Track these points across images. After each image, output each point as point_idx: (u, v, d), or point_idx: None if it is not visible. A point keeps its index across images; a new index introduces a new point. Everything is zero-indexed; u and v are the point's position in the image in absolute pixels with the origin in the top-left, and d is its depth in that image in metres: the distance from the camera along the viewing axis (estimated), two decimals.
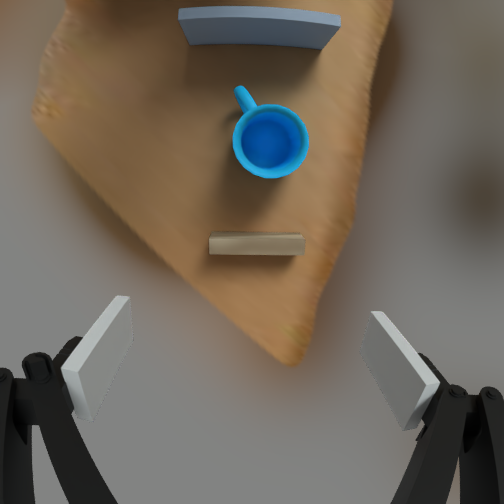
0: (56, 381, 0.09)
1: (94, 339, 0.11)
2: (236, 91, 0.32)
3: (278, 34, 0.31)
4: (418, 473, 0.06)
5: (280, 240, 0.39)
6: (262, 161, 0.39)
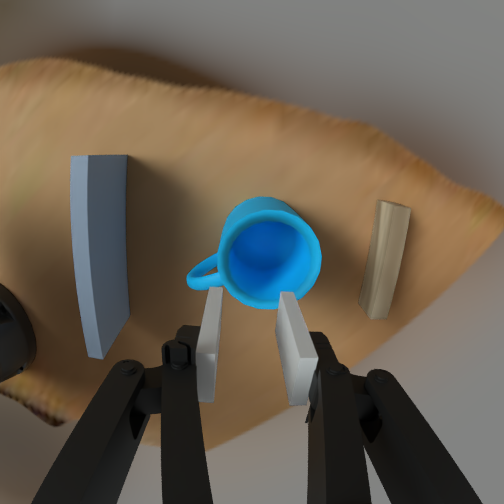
0: (193, 370, 0.11)
1: (213, 325, 0.14)
2: (195, 289, 0.27)
3: (110, 226, 0.27)
4: (325, 465, 0.07)
5: (389, 237, 0.28)
6: (286, 245, 0.31)
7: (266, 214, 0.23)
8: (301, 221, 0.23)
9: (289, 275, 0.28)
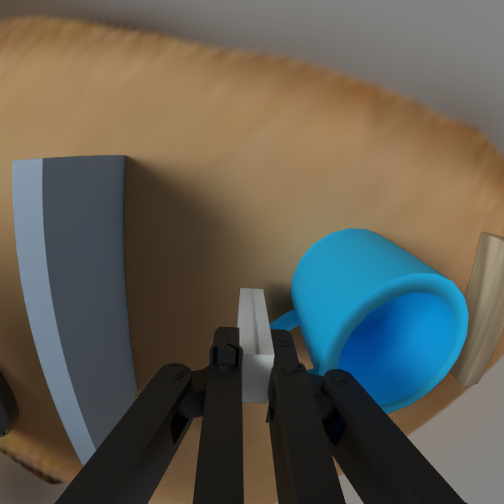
0: (239, 373, 0.11)
1: (252, 326, 0.14)
2: None
3: (98, 281, 0.15)
4: (292, 468, 0.07)
5: (503, 287, 0.17)
6: None
7: (412, 281, 0.12)
8: (455, 289, 0.12)
9: (400, 353, 0.17)
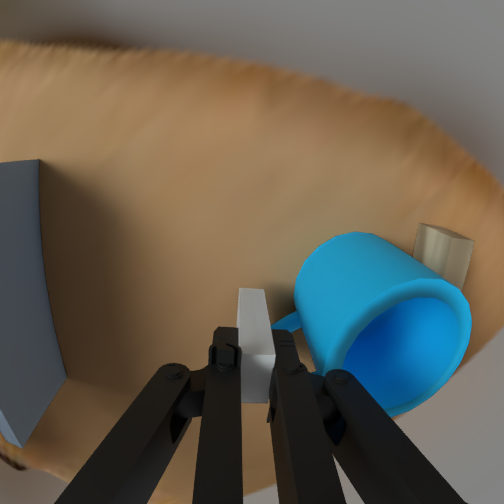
0: (238, 372, 0.11)
1: (251, 326, 0.14)
2: None
3: (7, 270, 0.15)
4: (293, 468, 0.07)
5: None
6: None
7: (419, 286, 0.12)
8: (460, 295, 0.12)
9: (401, 358, 0.16)
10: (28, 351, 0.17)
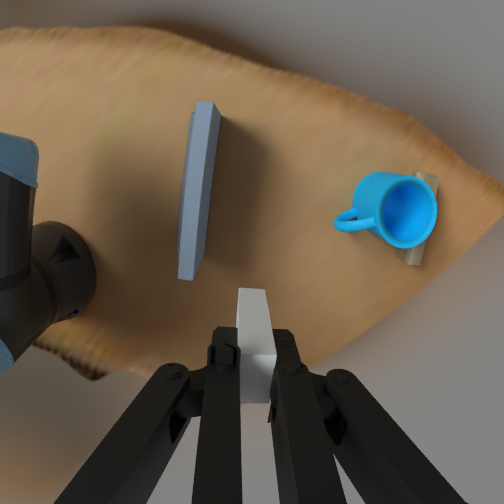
0: (237, 372, 0.11)
1: (250, 326, 0.14)
2: (346, 231, 0.34)
3: (210, 166, 0.33)
4: (293, 468, 0.07)
5: None
6: (398, 210, 0.38)
7: (410, 179, 0.30)
8: (429, 187, 0.30)
9: (407, 229, 0.35)
10: (204, 220, 0.35)
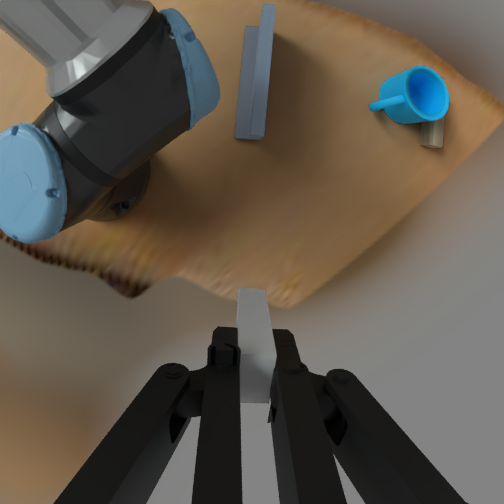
0: (237, 372, 0.11)
1: (250, 326, 0.14)
2: (382, 107, 0.37)
3: None
4: (293, 468, 0.07)
5: None
6: (416, 105, 0.41)
7: (424, 68, 0.33)
8: (439, 76, 0.33)
9: (427, 113, 0.38)
10: None
